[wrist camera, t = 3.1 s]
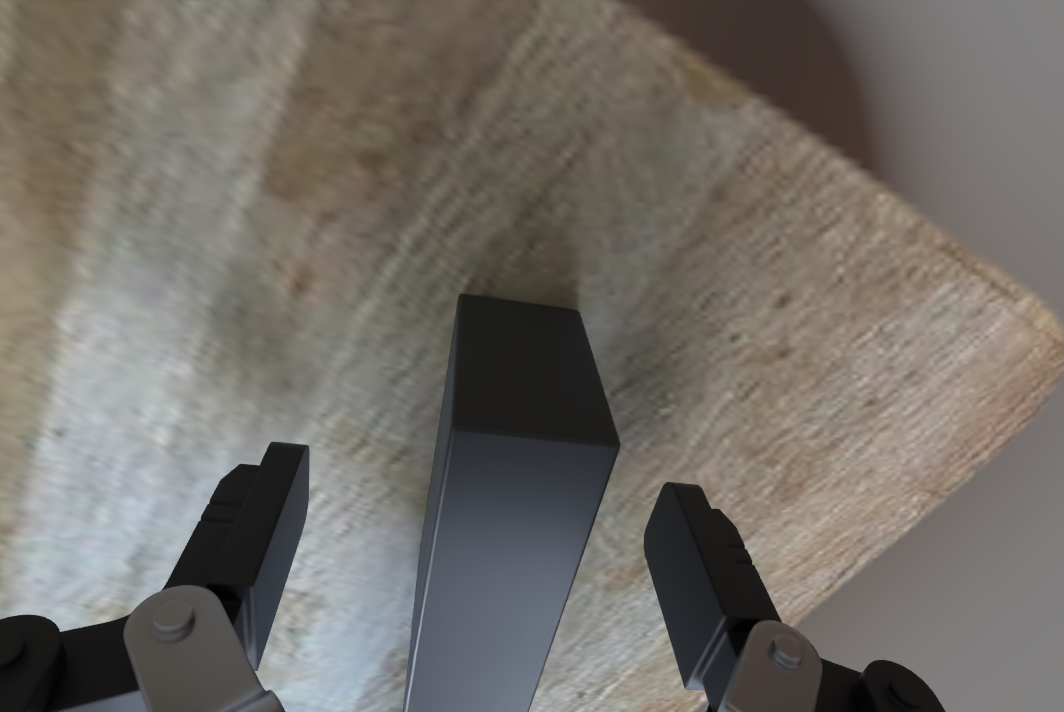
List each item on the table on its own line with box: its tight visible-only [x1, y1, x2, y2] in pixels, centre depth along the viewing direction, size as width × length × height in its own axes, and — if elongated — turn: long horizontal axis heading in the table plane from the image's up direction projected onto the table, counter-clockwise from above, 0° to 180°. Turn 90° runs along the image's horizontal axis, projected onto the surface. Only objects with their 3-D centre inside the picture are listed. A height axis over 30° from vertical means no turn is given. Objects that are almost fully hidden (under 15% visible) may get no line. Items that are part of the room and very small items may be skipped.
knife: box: [403, 294, 621, 712], centre depth 16 cm, size 19×3×4 cm, turn 169°
